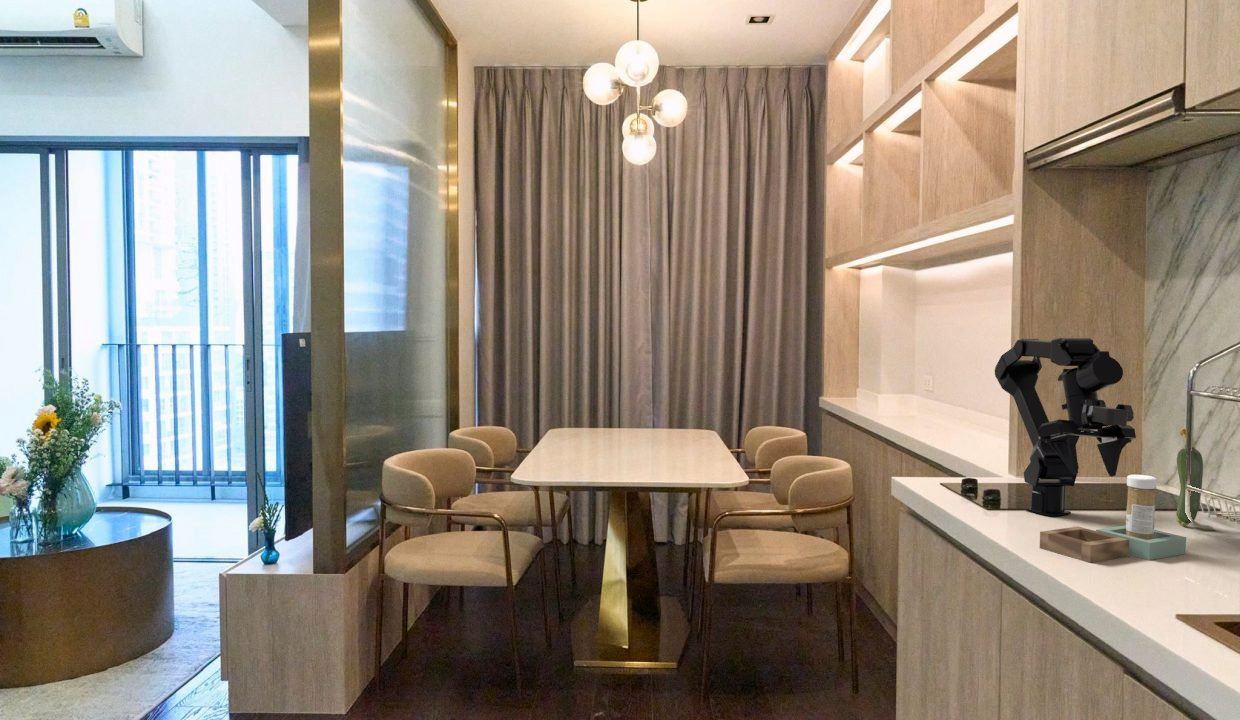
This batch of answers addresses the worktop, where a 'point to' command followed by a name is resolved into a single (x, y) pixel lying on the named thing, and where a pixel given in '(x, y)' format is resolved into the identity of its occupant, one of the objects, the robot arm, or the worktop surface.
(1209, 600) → the worktop surface
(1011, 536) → the worktop surface
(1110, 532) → the green square socket
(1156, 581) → the worktop surface
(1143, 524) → the sprinkles bottle
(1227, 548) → the worktop surface
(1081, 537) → the walnut socket
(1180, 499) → the vegetable
